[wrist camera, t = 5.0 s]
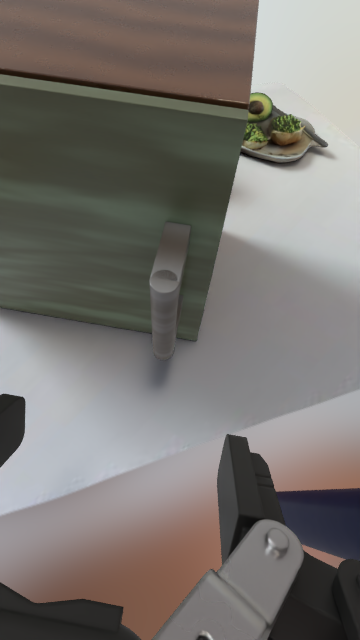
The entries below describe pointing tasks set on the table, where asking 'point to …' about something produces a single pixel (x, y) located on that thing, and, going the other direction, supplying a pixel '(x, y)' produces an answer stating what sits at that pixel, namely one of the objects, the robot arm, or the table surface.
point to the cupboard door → (113, 205)
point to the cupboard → (135, 46)
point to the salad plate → (276, 132)
